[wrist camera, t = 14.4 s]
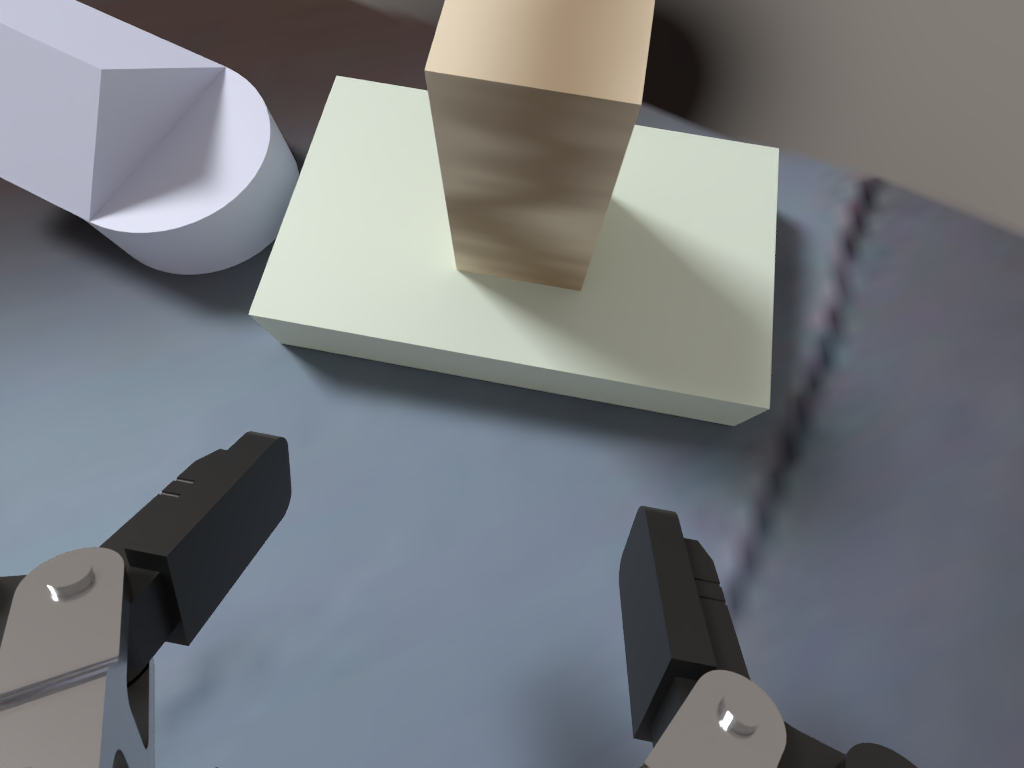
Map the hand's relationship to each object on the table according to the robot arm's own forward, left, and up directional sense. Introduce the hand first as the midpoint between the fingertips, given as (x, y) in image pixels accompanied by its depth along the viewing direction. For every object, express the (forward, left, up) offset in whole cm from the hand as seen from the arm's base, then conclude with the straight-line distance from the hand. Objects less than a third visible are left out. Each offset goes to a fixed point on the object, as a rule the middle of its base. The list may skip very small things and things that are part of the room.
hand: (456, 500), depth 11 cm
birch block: (0, +12, -6) cm, 13 cm away
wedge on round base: (-18, +13, -10) cm, 24 cm away
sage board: (0, +12, -9) cm, 15 cm away
